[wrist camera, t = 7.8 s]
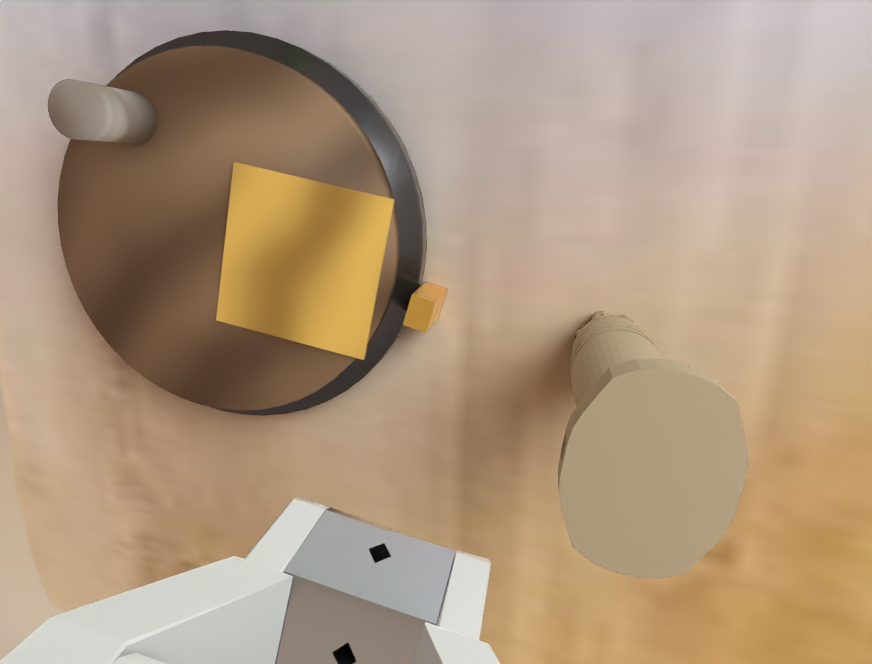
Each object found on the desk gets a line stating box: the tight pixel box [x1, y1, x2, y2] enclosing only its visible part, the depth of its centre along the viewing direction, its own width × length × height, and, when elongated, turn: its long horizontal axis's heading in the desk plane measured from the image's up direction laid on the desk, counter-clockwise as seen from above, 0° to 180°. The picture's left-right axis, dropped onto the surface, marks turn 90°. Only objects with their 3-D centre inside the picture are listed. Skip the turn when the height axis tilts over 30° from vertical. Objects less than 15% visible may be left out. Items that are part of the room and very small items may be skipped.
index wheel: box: [48, 46, 400, 410], centre depth 29 cm, size 18×18×6 cm
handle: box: [558, 311, 748, 578], centre depth 24 cm, size 5×6×15 cm
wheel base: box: [114, 31, 448, 415], centre depth 32 cm, size 20×21×4 cm
